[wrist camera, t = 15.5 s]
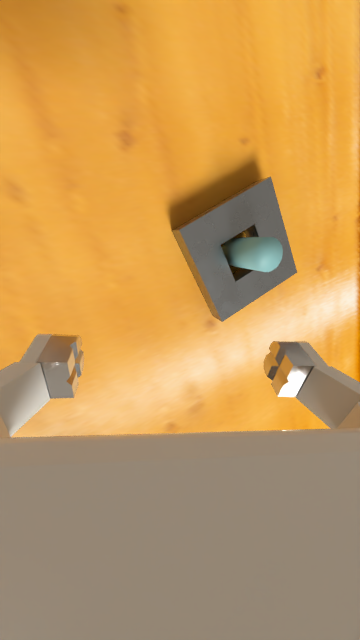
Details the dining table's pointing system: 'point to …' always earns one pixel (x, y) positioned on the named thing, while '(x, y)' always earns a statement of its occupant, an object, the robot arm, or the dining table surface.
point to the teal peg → (253, 253)
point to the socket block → (218, 227)
